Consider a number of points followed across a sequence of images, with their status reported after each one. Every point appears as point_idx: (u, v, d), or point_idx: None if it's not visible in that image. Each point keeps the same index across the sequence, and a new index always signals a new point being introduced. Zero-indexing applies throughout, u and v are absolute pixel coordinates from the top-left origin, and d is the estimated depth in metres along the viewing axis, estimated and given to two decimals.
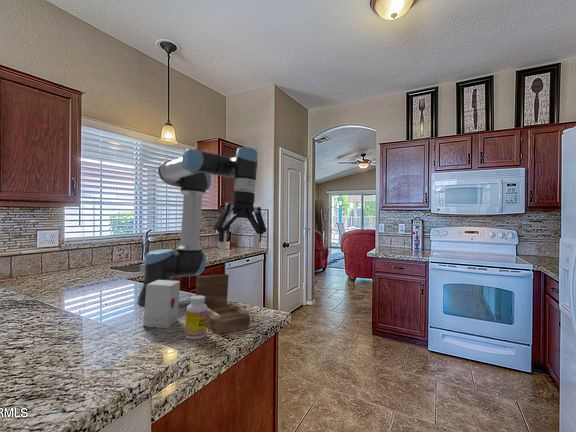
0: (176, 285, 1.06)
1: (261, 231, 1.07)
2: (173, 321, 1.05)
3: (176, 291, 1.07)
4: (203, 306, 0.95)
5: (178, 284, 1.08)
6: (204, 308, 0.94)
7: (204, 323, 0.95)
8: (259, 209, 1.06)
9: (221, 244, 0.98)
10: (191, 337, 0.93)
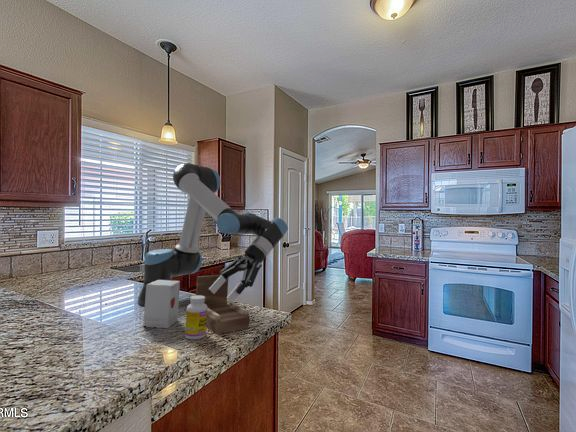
0: (176, 285, 1.06)
1: None
2: (173, 321, 1.05)
3: (176, 291, 1.07)
4: (203, 306, 0.95)
5: (178, 284, 1.08)
6: (204, 308, 0.94)
7: (204, 323, 0.95)
8: None
9: (233, 293, 0.95)
10: (191, 337, 0.93)
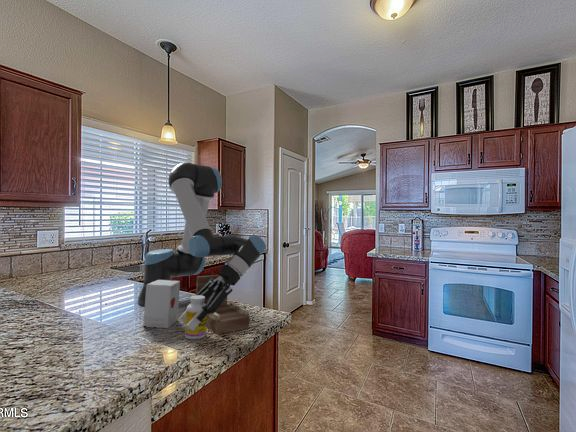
0: (176, 285, 1.06)
1: None
2: (173, 321, 1.05)
3: (176, 291, 1.07)
4: None
5: (178, 284, 1.08)
6: None
7: (204, 323, 0.95)
8: None
9: (194, 321, 0.91)
10: (191, 337, 0.93)
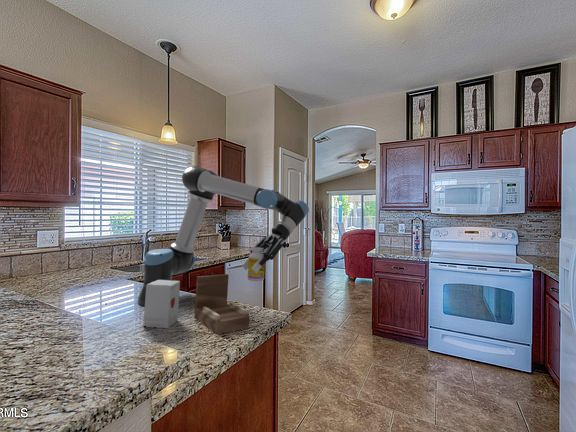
0: (176, 285, 1.06)
1: None
2: (173, 321, 1.05)
3: (176, 291, 1.07)
4: None
5: (178, 284, 1.08)
6: (263, 256, 1.15)
7: (263, 269, 1.15)
8: None
9: (257, 265, 1.12)
10: (254, 279, 1.13)
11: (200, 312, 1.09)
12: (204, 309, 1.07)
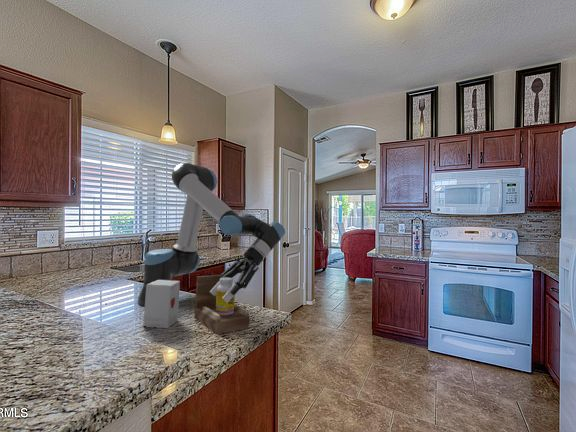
0: (176, 285, 1.06)
1: None
2: (173, 321, 1.05)
3: (176, 291, 1.07)
4: (231, 286, 1.07)
5: (178, 284, 1.08)
6: None
7: (233, 301, 1.07)
8: None
9: (228, 294, 1.03)
10: (222, 313, 1.05)
11: (200, 312, 1.09)
12: (204, 309, 1.07)
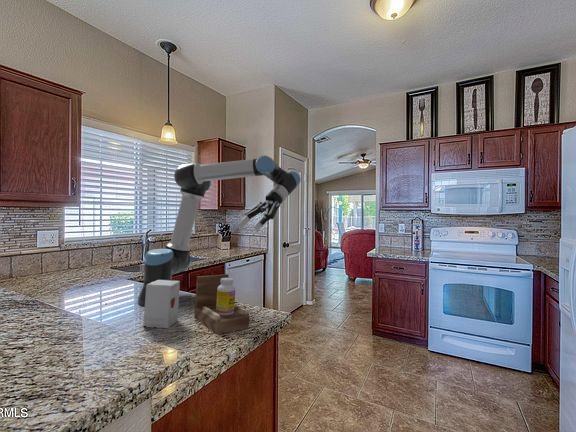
0: (176, 285, 1.06)
1: None
2: (173, 321, 1.05)
3: (176, 291, 1.07)
4: (232, 287, 1.07)
5: (178, 284, 1.08)
6: (233, 288, 1.07)
7: (233, 302, 1.07)
8: None
9: (258, 224, 1.19)
10: (222, 313, 1.05)
11: (200, 312, 1.09)
12: (204, 309, 1.07)
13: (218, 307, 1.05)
